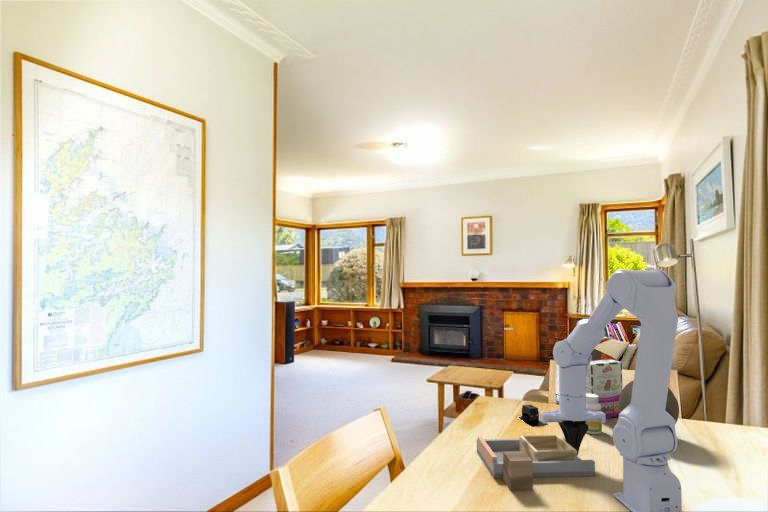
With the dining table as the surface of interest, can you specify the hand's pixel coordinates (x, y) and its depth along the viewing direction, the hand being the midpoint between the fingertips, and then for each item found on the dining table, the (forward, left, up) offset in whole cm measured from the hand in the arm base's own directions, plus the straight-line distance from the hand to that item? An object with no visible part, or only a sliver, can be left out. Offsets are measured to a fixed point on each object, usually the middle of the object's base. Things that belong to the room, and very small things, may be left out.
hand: (573, 453), depth 101 cm
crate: (0, +6, -1) cm, 6 cm away
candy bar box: (+31, -24, -2) cm, 40 cm away
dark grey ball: (+14, -27, -2) cm, 31 cm away
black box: (+28, -1, -3) cm, 28 cm away
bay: (0, +10, -2) cm, 10 cm away
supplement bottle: (+19, -14, -2) cm, 24 cm away
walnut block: (-10, +17, -2) cm, 19 cm away
